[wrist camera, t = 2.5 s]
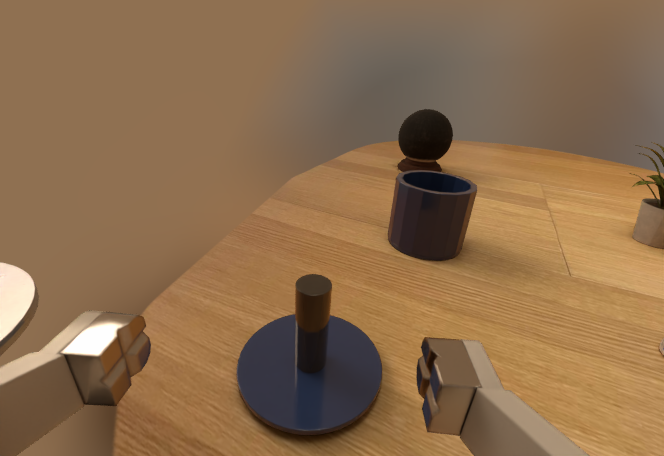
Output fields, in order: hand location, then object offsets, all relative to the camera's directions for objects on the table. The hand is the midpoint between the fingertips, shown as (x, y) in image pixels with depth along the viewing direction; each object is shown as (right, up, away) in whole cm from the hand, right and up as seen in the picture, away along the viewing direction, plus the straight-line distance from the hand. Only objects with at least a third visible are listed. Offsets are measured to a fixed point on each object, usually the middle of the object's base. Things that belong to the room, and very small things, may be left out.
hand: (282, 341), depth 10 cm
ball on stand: (+24, +19, +77) cm, 83 cm away
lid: (0, -8, +17) cm, 19 cm away
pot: (+15, +1, +40) cm, 43 cm away
